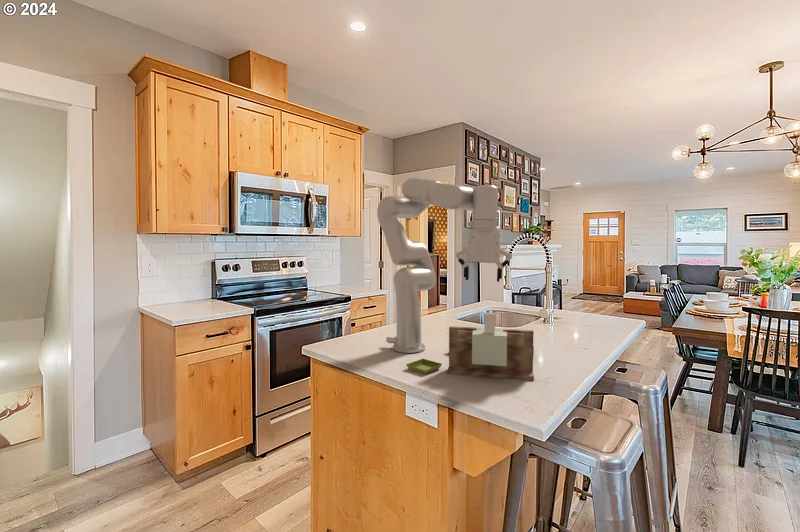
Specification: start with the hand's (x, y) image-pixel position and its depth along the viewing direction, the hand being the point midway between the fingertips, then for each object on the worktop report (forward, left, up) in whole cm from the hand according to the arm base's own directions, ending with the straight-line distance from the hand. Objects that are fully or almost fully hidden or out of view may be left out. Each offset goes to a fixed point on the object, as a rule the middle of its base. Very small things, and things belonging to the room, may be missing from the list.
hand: (482, 280), depth 125 cm
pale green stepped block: (+2, -4, -24) cm, 25 cm away
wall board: (+3, -1, -29) cm, 30 cm away
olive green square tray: (-18, -1, -30) cm, 35 cm away
